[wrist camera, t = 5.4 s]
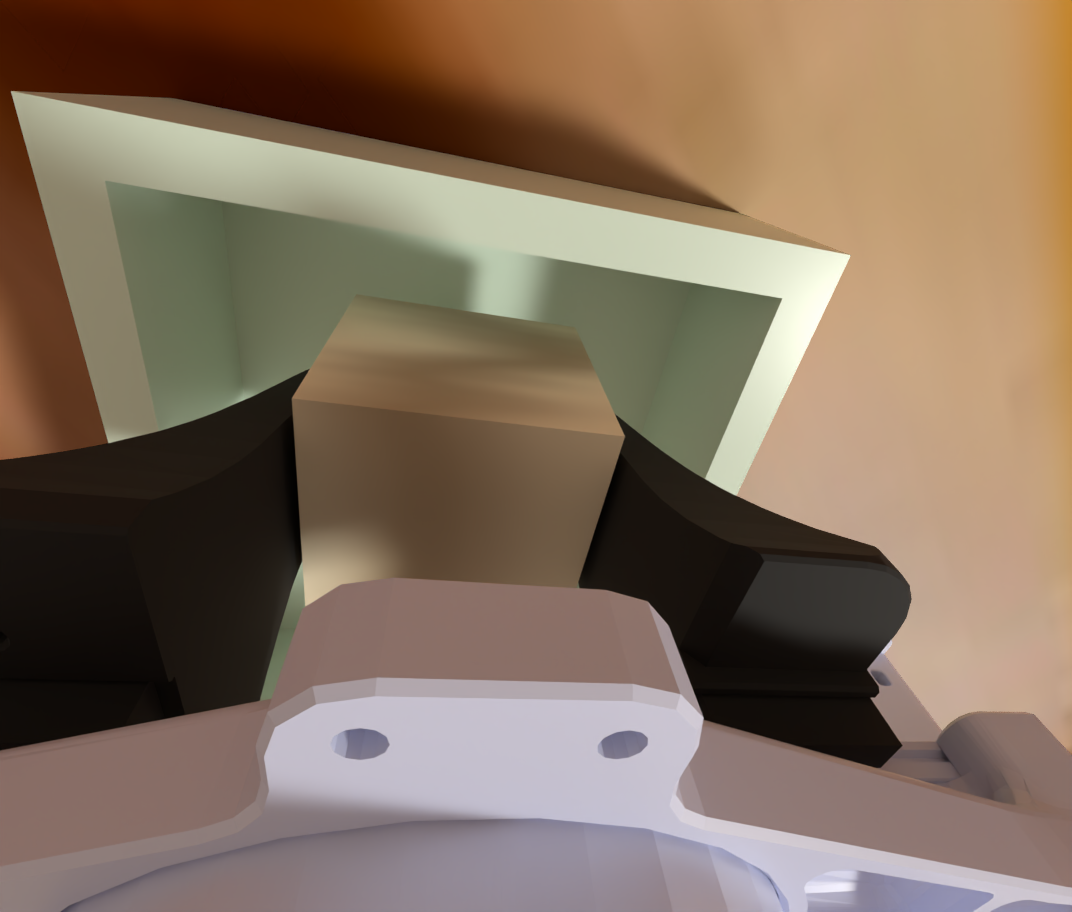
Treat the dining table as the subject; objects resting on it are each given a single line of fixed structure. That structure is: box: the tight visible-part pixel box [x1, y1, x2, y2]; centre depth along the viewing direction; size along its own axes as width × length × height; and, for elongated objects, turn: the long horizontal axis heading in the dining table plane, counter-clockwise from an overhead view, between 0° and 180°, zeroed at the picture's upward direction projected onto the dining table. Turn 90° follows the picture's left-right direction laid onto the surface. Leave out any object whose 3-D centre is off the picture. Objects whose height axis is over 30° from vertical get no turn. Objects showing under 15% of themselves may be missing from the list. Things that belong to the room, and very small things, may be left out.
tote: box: [11, 91, 851, 701], centre depth 16 cm, size 14×18×5 cm
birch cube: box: [292, 294, 625, 607], centre depth 11 cm, size 5×5×5 cm
